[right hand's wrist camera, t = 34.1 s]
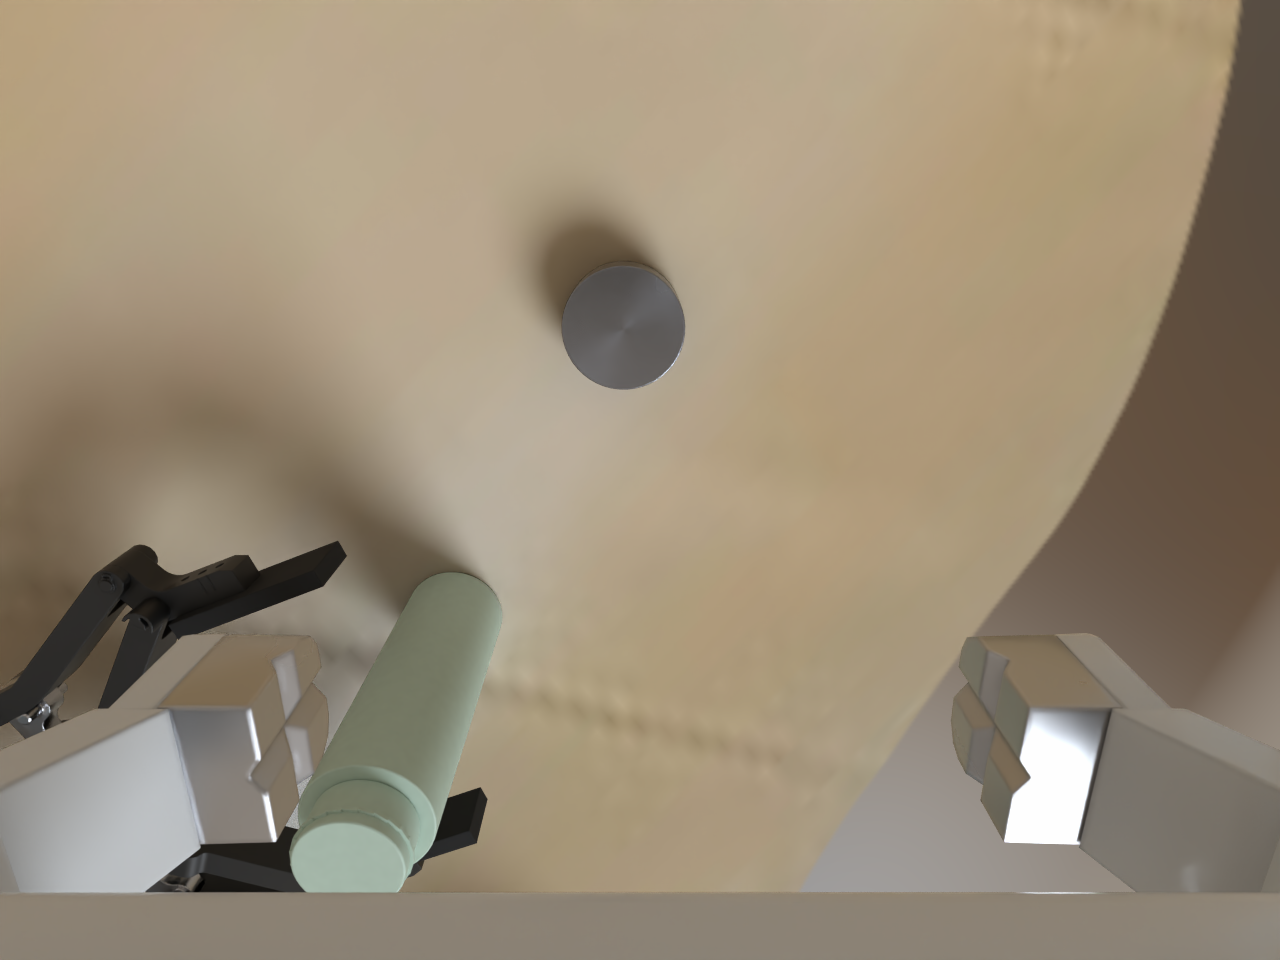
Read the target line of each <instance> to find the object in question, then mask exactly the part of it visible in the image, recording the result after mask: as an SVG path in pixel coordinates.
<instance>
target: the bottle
mask: <svg viewBox="0 0 1280 960" xmlns="http://www.w3.org/2000/svg"><path fill="white" fill-rule="evenodd" d="M501 623H502V610H501V606H500V603H499V601H498V599H497V597H496V595H495V594H494V592H493V591H492V590H491V589H490V588H489V587H488V586H487V585H486V584H485V583H483V582H482V581H480V580H479V579H477V578H475V577H473V576H470V575H467V574H463V573H457V572H446V573H440V574H436V575H434V576H431V577H429V578H427V579H426V580H424V581H423V582H421V583H420V584H419V585H418V586H417V588H416V589H415V590H414V592H413V594H412V595H411V597H410V599H409V601H408V603H407V604H406V606H405V608H404V610H403V612H402V614H401V615H400V617H399V619H398V621H397V623H396V624H395V626H394V628H393V630H392V632H391V634H390V635H389V637H388V639H387V641H386V643H385V644H384V646H383V648H382V650H381V652H380V654H379V655H378V657H377V659H376V661H375V663H374V664H373V666H372V668H371V670H370V672H369V674H368V675H367V677H366V679H365V681H364V683H363V684H362V686H361V688H360V690H359V692H358V694H357V695H356V697H355V699H354V701H353V703H352V704H351V706H350V708H349V710H348V712H347V714H346V715H345V717H344V719H343V721H342V723H341V725H340V726H339V728H338V730H337V732H336V734H335V735H334V737H333V739H332V741H331V743H330V745H329V746H328V748H327V750H326V752H325V754H324V755H323V757H322V759H321V761H320V763H319V765H318V767H317V769H316V771H315V773H314V774H313V775H312V777H311V779H310V781H309V783H308V785H307V786H306V788H305V790H304V792H303V794H302V796H301V798H300V801H299V806H298V820H299V825H300V828H299V829H298V831H297V832H296V834H295V835H294V837H293V839H292V843H291V847H290V851H289V854H290V862H291V863H290V866H291V869H292V872H293V875H294V877H295V879H296V881H297V882H298V883H299V885H300V886H301V887H302V888H303V889H304V891H306V892H398V891H399V890H400V889H401V887H402V885H403V883H404V881H405V880H406V878H407V877H408V876H409V874H410V873H411V870H412V867H413V864H414V863H416V862H417V861H419V860H420V859H421V858H422V857H423V856H424V855H425V854H426V853H427V852H428V851H429V849H430V847H431V846H432V844H433V842H434V839H435V837H436V833H437V830H438V827H439V824H440V820H441V817H442V814H443V811H444V808H445V804H446V801H447V798H448V795H449V791H450V788H451V785H452V782H453V779H454V775H455V772H456V769H457V766H458V763H459V759H460V756H461V753H462V750H463V746H464V743H465V740H466V737H467V734H468V730H469V727H470V724H471V721H472V718H473V714H474V711H475V708H476V705H477V701H478V698H479V695H480V692H481V689H482V685H483V682H484V679H485V676H486V672H487V669H488V666H489V663H490V660H491V656H492V653H493V650H494V647H495V644H496V640H497V637H498V634H499V631H500V627H501Z"/></svg>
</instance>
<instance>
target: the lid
mask: <svg viewBox="0 0 1280 960" xmlns="http://www.w3.org/2000/svg"><path fill="white" fill-rule="evenodd" d="M684 336H685V320H684V314H683V310H682V307H681V304H680V301H679V299H678V296H677V294H676V292H675V290H674V288H673V287H672V286H671V284H670V283H669V282H668V281H667V280H666V279H665V278H664V277H663V276H662V275H661V274H660V273H659V272H657V271H656V270H654V269H652V268H651V267H648V266H646V265H644V264H640V263H637V262H631V261H617V262H611V263H607V264H604V265H602V266H599V267H597V268H596V269H594V270H592V271H591V272H589V273H588V274H587V275H586V276H585V277H584V278H583V279H582V280H581V281H580V282H579V283H578V284H577V286H576V287H575V289H574V290H573V292H572V294H571V296H570V297H569V299H568V301H567V303H566V306H565V309H564V313H563V317H562V337H563V342H564V345H565V349H566V351H567V353H568V356H569V357H570V359H571V361H572V362H573V364H574V365H575V366H576V367H577V369H578V370H579V371H580V372H581V373H582V374H583V375H585V376H586V377H587V378H589V379H590V380H592V381H594V382H595V383H597V384H600V385H602V386H605V387H608V388H613V389H635V388H639V387H643V386H645V385H648V384H650V383H652V382H654V381H656V380H657V379H659V378H660V377H662V376H663V375H664V374H665V373H666V372H667V371H668V370H669V369H670V368H671V367H672V365H673V364H674V363H675V361H676V359H677V358H678V356H679V354H680V351H681V349H682V346H683V342H684Z"/></svg>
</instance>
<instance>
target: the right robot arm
mask: <svg viewBox="0 0 1280 960" xmlns="http://www.w3.org/2000/svg"><path fill="white" fill-rule="evenodd" d="M320 668H321V662H320V657H319V652H318V647H317V643H316V642H315V641H314V640H313V639H312V638H311V637H310V636H295V635H244V634H232V635H229V634H192V635H186V636H182V637H181V638H180V639H179V640H178V641H177V642H176V643H175V644H174V645H173V646H172V647H171V648H170V649H169V650H168V651H167V652H166V653H165V654H164V655H163V656H162V657H161V658H160V659H159V660H157V661H156V662H155V663H154V664H153V665H152V666H151V667H150V668H149V669H148V670H147V671H146V672H145V673H144V674H143V675H142V676H141V677H140V678H139V679H138V680H137V681H136V682H135V683H134V684H133V685H132V686H131V687H130V688H129V689H128V690H127V691H126V692H125V693H124V694H123V695H122V696H121V697H120V698H119V699H118V700H117V701H116V702H115V703H114V704H113V705H111V706H110V707H109V708H108V709H93V710H91V711H88V712H86V713H84V714H82V715H79V716H77V717H75V718H72V719H70V720H68V721H66V722H63V723H61V724H59V725H56V726H54V727H52V728H50V729H47V730H45V731H43V732H40V733H38V734H36V735H34V736H31V737H29V738H27V739H24V740H22V741H20V742H17V743H15V744H13V745H11V746H8V747H6V748H4V749H1V750H0V960H1280V750H1278V749H1276V748H1274V747H1271V746H1269V745H1267V744H1265V743H1262V742H1260V741H1258V740H1255V739H1253V738H1251V737H1249V736H1246V735H1244V734H1242V733H1239V732H1237V731H1235V730H1233V729H1230V728H1228V727H1226V726H1223V725H1221V724H1219V723H1217V722H1214V721H1212V720H1210V719H1208V718H1205V717H1203V716H1201V715H1198V714H1196V713H1194V712H1191V711H1189V710H1187V709H1172V708H1171V707H1170V706H1169V705H1167V703H1166V702H1164V701H1163V700H1162V699H1161V698H1160V697H1159V696H1158V695H1157V694H1156V693H1155V692H1154V691H1153V690H1152V689H1151V688H1150V687H1149V686H1148V685H1147V684H1146V683H1145V682H1144V681H1143V680H1142V679H1141V678H1140V677H1139V676H1138V675H1137V674H1136V673H1135V672H1134V671H1133V670H1132V669H1131V668H1130V667H1129V666H1128V665H1127V664H1126V663H1125V662H1124V661H1123V660H1122V659H1121V658H1120V657H1119V656H1118V655H1117V654H1116V653H1115V652H1114V651H1112V650H1111V649H1110V648H1109V647H1108V646H1107V645H1106V644H1105V643H1104V642H1103V641H1102V640H1101V639H1100V638H1099V637H1097V636H1094V635H1091V634H1089V633H1084V634H1059V635H1019V636H979V637H967V638H966V641H965V643H964V645H963V647H962V650H961V656H960V661H959V668H960V670H961V671H962V673H963V674H964V676H965V677H966V679H967V681H968V683H967V684H966V685H965V686H964V687H963V688H962V689H961V690H960V691H959V693H957V695H956V696H955V697H954V700H953V708H952V716H951V726H952V736H953V744H954V747H955V750H956V754H957V757H958V759H959V761H960V763H961V765H962V767H963V769H964V771H965V773H966V774H967V775H969V776H970V777H972V778H973V779H975V780H977V781H978V782H980V783H981V784H983V788H982V794H981V802H982V804H983V805H984V807H985V809H986V811H987V812H988V814H989V816H990V818H991V820H992V821H993V823H994V825H995V827H996V829H997V830H998V832H999V834H1000V836H1001V838H1002V839H1003V841H1004V842H1017V843H1053V844H1080V846H1079V848H1080V849H1082V850H1083V851H1084V852H1085V853H1087V854H1088V855H1089V856H1091V857H1092V858H1093V859H1094V860H1096V861H1097V862H1098V863H1099V864H1101V865H1102V866H1103V867H1105V868H1106V869H1107V870H1108V871H1110V872H1111V873H1112V874H1114V875H1115V876H1116V877H1118V878H1119V879H1120V880H1121V881H1123V882H1124V883H1125V884H1127V885H1128V886H1129V887H1130V888H1132V889H1133V890H1134V891H1135V892H145V891H146V890H147V889H149V888H150V887H151V886H153V885H154V884H155V883H156V882H158V881H159V880H160V879H162V878H163V877H164V876H165V875H167V874H168V873H169V872H171V871H172V870H173V869H174V868H176V867H177V866H178V865H180V864H181V863H182V862H183V861H185V860H186V859H187V858H189V857H190V856H191V855H192V854H194V853H195V852H196V851H198V850H199V849H200V848H201V846H200V844H227V843H262V842H276V841H277V839H278V838H279V836H280V834H281V832H282V831H283V829H284V827H285V825H286V823H287V822H288V820H289V818H290V816H291V814H292V813H293V811H294V809H295V807H296V805H297V804H298V802H299V794H298V788H297V784H299V783H300V782H302V781H304V780H305V779H307V778H308V777H310V776H311V775H313V774H314V773H315V771H316V769H317V767H318V765H319V763H320V761H321V759H322V757H323V754H324V750H325V746H326V741H327V737H328V723H329V713H328V706H327V699H326V697H325V696H324V695H323V693H322V692H321V691H320V690H319V689H318V688H317V687H316V686H315V685H314V684H313V683H312V681H313V679H314V678H315V676H316V674H317V673H318V671H319V670H320Z"/></svg>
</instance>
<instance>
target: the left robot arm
mask: <svg viewBox="0 0 1280 960" xmlns="http://www.w3.org/2000/svg"><path fill="white" fill-rule="evenodd" d="M346 556H347V555H346V554H345V552H344V550H343V548H342V547H341V545H340V543H339V541H336V542H333V543H331V544H328V545H326V546H323V547H320V548H318V549H315V550H313V551H310V552H307V553H305V554H302V555H300V556H297V557H294V558H292V559H289V560H286V561H284V562H281V563H279V564H276V565H273V566H271V567H268V568H266V569H263V570H260V571H258V570H257V568H256V567H255V565H254V564H253V562H252V560H251V559H250V557H249V555H234V556H232V557H229V558H227V559H224V560H221V561H219V562H216V563H214V564H211V565H209V566H206V567H203V568H201V569H198V570H196V571H193V572H191V573H188V574H185V575H174V574H171V573H168V572H167V571H165V570H164V569H162V568H161V567H160V566H159V565H158V564H157V563H158V557H157V555H156V553H155V552H154V551H153V550H152V549H151V548H150V547H148V546H145V545H136V546H133V547H132V548H131V549H129V550H128V551H126V552H125V553H123V554H122V555H121V556H119V557H118V558H117V559H115V560H114V561H112V562H111V563H110V564H108V565H107V566H105V567H104V568H103V569H102V570H100V571H99V572H97V573H96V574H95V575H94V576H93V577H92V579H91V580H90V581H89V583H88V584H87V585H86V587H85V588H84V590H83V591H82V592H81V594H80V595H79V596H78V598H77V599H76V600H75V602H74V603H73V605H72V606H71V607H70V609H69V610H68V611H67V613H66V614H65V615H64V617H63V618H62V619H61V621H60V622H59V624H58V625H57V626H56V628H55V629H54V630H53V632H52V633H51V634H50V636H49V637H48V639H47V640H46V641H45V643H44V644H43V645H42V647H41V648H40V649H39V651H38V652H37V653H36V655H35V656H34V658H33V659H32V660H31V662H30V663H29V664H28V666H27V667H26V668H25V670H24V671H22V672H21V673H19V674H18V675H17V676H16V677H14V678H13V679H12V680H10V681H9V682H8V683H7V684H5V685H4V686H3V687H2V688H0V726H2V725H4V724H6V723H8V722H10V723H11V724H12V725H13V726H14V727H15V728H16V729H17V730H18V731H19V733H20V734H21V735H22V736H23V737H24V738H25V739H27V738H29V737H31V736H34V735H36V734H38V733H40V732H43V731H45V730H47V729H50V728H52V727H54V726H56V725H59V724H61V723H63V722H66V721H68V720H63V721H61V720H60V719H59V717H58V715H57V711H58V708H59V707H60V706H61V705H62V704H63V702H64V696H63V694H64V693H65V692H66V691H67V689H68V687H67V685H66V683H64V682H63V681H65V680H66V679H67V678H68V677H69V676H70V675H71V674H73V673H74V672H75V671H76V670H77V669H78V668H79V667H80V665H81V664H82V663H83V662H84V660H85V659H86V658H87V656H88V655H89V654H90V652H91V651H92V650H93V649H94V647H95V646H96V645H97V643H98V642H99V641H100V639H101V638H102V637H103V635H104V634H105V633H106V631H107V630H108V629H109V628H110V626H111V625H112V624H113V622H114V621H115V620H116V618H117V617H118V616H119V614H120V613H121V612H122V610H123V609H124V608H125V607H126V605H129V606H130V607H131V608H132V609H133V610H131V611H130V612H129V613H128V614H127V615H125V616H124V618H123V619H122V621H124V622H125V621H126V620H127V619H130V620H129V623H128V626H127V629H126V632H125V634H124V637H123V640H122V643H121V646H120V648H119V651H118V654H117V657H116V660H115V662H114V665H113V668H112V671H111V674H110V676H109V679H108V682H107V685H106V688H105V690H104V693H103V696H102V699H101V702H100V704H99V707H98V709H108V708H109V707H110V706H111V705H113V704H114V703H115V702H116V701H117V700H118V699H119V698H120V697H121V696H122V695H123V694H124V693H125V692H126V691H127V690H128V689H129V688H130V687H131V686H132V685H133V684H134V683H135V682H136V681H137V680H138V679H139V678H140V677H141V676H142V675H143V674H144V673H145V672H146V671H147V670H148V669H149V668H150V667H151V666H152V665H153V664H154V663H155V662H156V661H157V660H159V659H160V658H161V657H162V656H163V655H164V654H165V653H166V652H167V651H168V650H169V649H170V648H171V647H172V646H173V645H174V644H175V643H176V640H177V639H178V640H179V639H180V638H181V637H182V636H186V635H192V634H198V633H201V632H203V631H206V630H209V629H211V628H214V627H216V626H219V625H222V624H224V623H227V622H230V621H232V620H235V619H238V618H240V617H243V616H246V615H248V614H251V613H254V612H256V611H259V610H262V609H264V608H267V607H270V606H272V605H275V604H278V603H280V602H283V601H286V600H288V599H291V598H294V597H296V596H299V595H302V594H304V593H307V592H310V591H312V590H315V589H318V588H320V587H323V586H324V585H325V583H326V582H327V581H328V580H329V578H330V577H331V576H332V574H333V573H334V572H335V571H336V569H337V568H338V567H339V565H340V564H341V563H342V562H343V560H344V559H345V558H346ZM486 803H487V798H486V796H485V794H484V792H483V791H482V789H481V787H480V788H477V789H474V790H471V791H468V792H465V793H462V794H459V795H456V796H453V797H450V798H447V801H446V804H445V808H444V811H443V814H442V817H441V820H440V824H439V827H438V830H437V833H436V837H435V839H434V842H433V844H432V846H431V847H430V849H429V851H428V852H427V853H426V854H425V855H424V856H423V857H422V858H421V859H420V860H419V861H417V862H416V863H414V864H413V867H412V870H411V873H410V874H409V876H408V877H411V876H414V875H415V874H416V873H418V872H419V871H420V870H421V869H422V866H423V863H424V860H426V859H429V858H432V857H435V856H438V855H441V854H444V853H447V852H451V851H454V850H457V849H460V848H463V847H466V846H469V845H472V844H475V843H477V840H478V835H479V831H480V827H481V823H482V819H483V815H484V811H485V807H486ZM297 831H298V829H294V828H290V827H286V826H285V827H284V829H283V831H282V832H281V834H280V836H279V838H278V839H277V841H276V842H262V843H227V844H200V846H201V848H200V849H199V850H198V851H196V852H195V853H194V854H192V855H191V856H190V857H189V858H187V859H186V860H185V861H183V862H182V863H181V864H180V865H178V866H177V867H176V868H174V869H173V870H172V871H171V872H169V873H168V874H167V875H165V876H164V877H163V878H162V879H160V880H159V881H158V882H156V883H155V884H154V885H153V886H151V887H150V888H149V889H147V890H146V891H145V892H306V891H304V889H303V888H302V887H301V886H300V885H299V883H298V882H297V881H296V879H295V877H294V875H293V872H292V869H291V866H290V863H291V862H290V854H289V851H290V847H291V843H292V839H293V837H294V835H295V834H296V832H297ZM408 877H407V878H408Z"/></svg>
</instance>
